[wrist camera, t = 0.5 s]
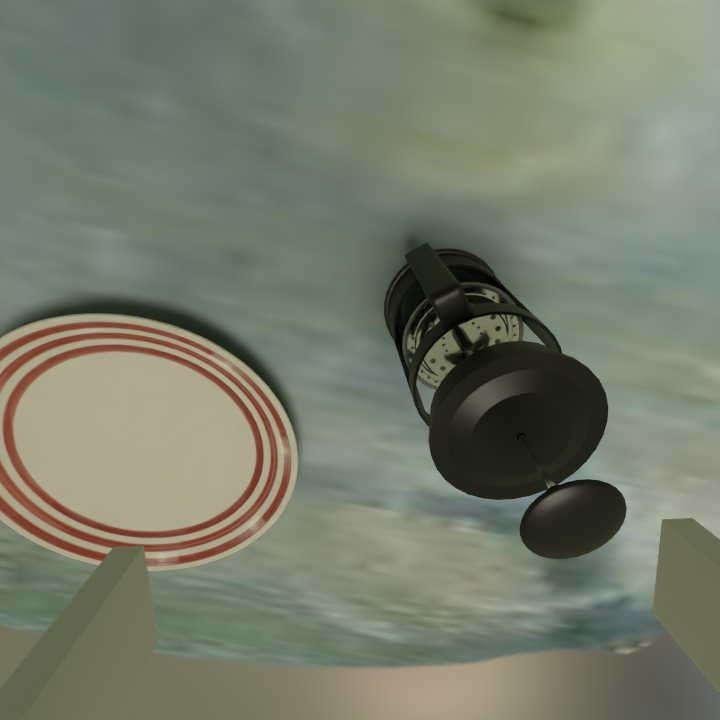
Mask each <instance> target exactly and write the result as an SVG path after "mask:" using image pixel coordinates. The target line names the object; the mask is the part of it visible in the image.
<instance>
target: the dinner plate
mask: <svg viewBox="0 0 720 720" xmlns="http://www.w3.org/2000/svg"><path fill="white" fill-rule="evenodd" d="M297 474H298V448H297V442H296V438H295V434H294V431H293V428H292V425H291V422H290V420H289V418H288V416H287V414H286V412H285V409H284V408H283V406H282V404H281V403H280V401H279V400H278V398H277V397H276V396H275V394H274V393H273V392H272V390H271V389H270V388H269V386H268V385H267V384H266V383H265V382H264V381H263V380H262V379H261V378H260V377H259V376H258V374H256V373H255V372H254V371H253V370H252V369H251V368H250V367H249V366H248V365H246V364H245V363H244V362H243V361H241V360H240V359H239V358H237V357H236V356H235V355H233V354H232V353H230V352H229V351H227V350H225V349H224V348H222V347H221V346H219V345H217V344H216V343H214V342H212V341H210V340H208V339H206V338H204V337H202V336H200V335H198V334H195V333H193V332H191V331H188V330H185V329H182V328H180V327H177V326H174V325H171V324H167V323H164V322H160V321H156V320H152V319H147V318H142V317H137V316H130V315H122V314H110V313H86V314H72V315H65V316H58V317H52V318H48V319H43V320H40V321H36V322H33V323H30V324H27V325H25V326H22V327H20V328H17V329H15V330H13V331H11V332H9V333H7V334H5V335H3V336H2V337H0V520H2V521H3V522H4V523H5V524H7V525H8V526H9V527H11V528H12V529H14V530H15V531H17V532H18V533H20V534H21V535H23V536H25V537H26V538H28V539H30V540H31V541H33V542H35V543H37V544H39V545H41V546H43V547H45V548H47V549H49V550H52V551H54V552H57V553H59V554H62V555H65V556H67V557H70V558H73V559H77V560H80V561H84V562H87V563H91V564H95V565H100V563H101V562H102V561H103V560H104V558H105V557H106V556H107V555H108V553H109V552H110V551H111V550H112V548H114V547H133V546H144V551H145V557H146V563H147V570H148V571H162V570H175V569H182V568H188V567H193V566H198V565H202V564H205V563H209V562H212V561H215V560H218V559H221V558H223V557H226V556H228V555H230V554H233V553H235V552H237V551H239V550H241V549H242V548H244V547H246V546H247V545H249V544H251V543H252V542H253V541H255V540H256V539H258V538H259V537H260V536H262V535H263V534H264V533H265V532H266V531H267V530H268V529H269V528H270V527H271V526H272V525H273V524H274V523H275V522H276V521H277V520H278V518H279V517H280V516H281V514H282V513H283V511H284V510H285V508H286V506H287V504H288V503H289V501H290V499H291V496H292V494H293V491H294V488H295V484H296V480H297Z"/></svg>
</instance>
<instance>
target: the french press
mask: <svg viewBox="0 0 720 720" xmlns="http://www.w3.org/2000/svg"><path fill="white" fill-rule="evenodd" d="M405 258H406V260H407V262H408V264H407V265H406V266H405V267H404V268H402V269H401V270H400V271H399V272H398V274H397V275H396V277H395V278H394V280H393V281H392V283H391V285H390V287H389V289H388V291H387V295H386V299H385V305H384V315H385V321H386V325H387V328H388V330H389V332H390V335H391V336H392V338H393V339H394V341H395V344H396V347H397V350H398V354H399V357H400V360H401V363H402V366H403V369H404V372H405V375H406V378H407V382H408V385H409V388H410V391H411V394H412V397H413V400H414V403H415V406H416V408H417V410H418V413H419V415H420V416H421V418H422V419H423V420H424V422H425V423H426V424H427V425H428V426H429V427H430V428H429V440H428V441H429V447H430V453H431V456H432V459H433V461H434V463H435V466H436V468H437V470H438V471H439V472H440V474H441V475H442V476H443V477H444V479H445V480H446V481H447V482H449V483H450V484H451V485H453V486H454V487H455V488H457V489H459V490H461V491H463V492H465V493H467V494H469V495H473V496H476V497H480V498H485V499H496V500H502V499H516V498H520V497H525V496H530V495H533V494H536V493H539V492H542V491H544V490H547V491H546V492H545V493H543V494H542V495H540V496H539V497H538V498H537V499H536V500H535V501H534V502H533V503H532V504H531V505H530V506H529V507H528V509H527V510H526V511H525V513H524V515H523V518H522V520H521V524H520V536H521V539H522V542H523V543H524V544H525V546H526V547H527V548H528V549H529V550H531V551H532V552H533V553H535V554H537V555H539V556H541V557H545V558H550V559H568V558H573V557H578V556H581V555H584V554H587V553H589V552H591V551H594V550H596V549H598V548H599V547H601V546H602V545H604V544H605V543H607V542H608V541H609V540H610V539H611V538H612V537H613V536H614V535H615V534H616V533H617V532H618V531H619V529H620V527H621V526H622V524H623V522H624V519H625V517H626V509H627V508H626V503H625V499H624V497H623V495H622V493H621V492H620V491H619V490H618V489H617V488H616V487H614V486H612V485H610V484H609V483H605V482H602V481H599V480H590V479H587V480H576V481H571V482H566V483H564V484H561V485H557V484H558V483H560V482H562V481H563V480H565V479H566V478H568V477H569V476H570V475H572V474H573V473H575V472H576V471H577V470H578V469H579V468H580V467H581V466H582V465H583V464H584V463H585V462H586V461H587V460H588V459H589V457H590V456H591V455H592V453H593V452H594V451H595V450H596V448H597V446H598V444H599V442H600V440H601V438H602V436H603V434H604V431H605V427H606V424H607V418H608V403H607V398H606V393H605V391H604V389H603V387H602V385H601V383H600V381H599V379H598V378H597V377H596V376H595V375H594V374H593V373H592V371H591V370H590V369H589V368H588V367H587V366H585V365H584V364H582V363H581V362H579V361H578V360H576V359H575V358H573V357H570V356H567V355H565V354H562V351H561V347H560V345H559V343H558V341H557V340H556V338H555V336H554V335H553V334H552V333H551V332H550V330H549V329H548V328H547V327H546V326H545V325H544V324H543V323H542V322H541V321H540V320H539V319H538V318H537V317H535V316H534V315H533V314H532V313H531V312H530V311H529V310H528V309H527V308H526V307H525V306H524V305H523V304H521V303H520V302H519V301H518V300H517V299H516V298H515V297H514V296H513V295H512V294H511V293H510V292H509V291H508V290H507V289H506V288H505V287H504V286H503V285H502V284H501V283H500V281H499V280H498V279H497V278H496V276H495V274H494V272H493V271H492V270H491V268H490V267H489V266H488V265H487V264H486V263H485V262H484V261H483V260H481V259H480V258H478V257H477V256H475V255H473V254H471V253H468V252H466V251H462V250H456V249H440V250H436V251H434V250H433V249H432V247H431V246H430V245H429V244H428V243H426V244H424V245H422V246H420V247H418V248H416V249H414V250H412V251H411V252H409V253H407V254H406V255H405ZM450 267H453V268H458V269H462V270H464V271H467V272H469V273H470V274H472V275H473V276H475V277H476V278H477V280H478V281H479V282H480V283H477V282H461V283H459V282H458V281H457V279H456V278H455V277H454V275H453V274H452V273H451V272H450V270H449V269H448V268H450ZM417 282H419V284H420V286H421V287H422V289H423V291H424V293H425V295H426V296H427V297H426V298H425V299H424V300H423V301H422V302H421V303H420V304H419V305H418V306H417V308H416V309H415V310H414V312H413V313H412V315H411V317H410V319H409V321H408V323H407V325H406V328H404V325H403V323H402V318H401V306H402V302H403V298H404V296H405V295H406V294H407V292H408V291H409V289H410V288H412V287H413V286H414V285H415V284H416V283H417ZM523 322H524V323H525V324H526V325H527V326H528V327H529V328H530V329H531V330H532V331H533V332H534V333H535V334H536V335H537V336H538V338H539V339H540V340H541V341H542V342H543V343H544V344H545V345H546V346H544V345H542V344H539V343H533V342H527V341H522V339H523ZM416 379H418V380H419V381H420V382H421V383H422V384H424V385H426V386H428V387H430V388H432V389H435V390H436V392H435V394H434V397H433V401H432V404H431V411H430V415H429V414H428V413H427V412H425V409H424V407H423V404H422V401H421V398H420V395H419V392H418V389H417V386H416Z"/></svg>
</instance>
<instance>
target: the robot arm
mask: <svg viewBox="0 0 720 720" xmlns="http://www.w3.org/2000/svg"><path fill="white" fill-rule="evenodd" d="M652 613H653V614H654V615H655V616H656V618H657V619H658V620H659V621H660V622H661V624H662V625H663V626H664V627H665V628H666V630H667V631H668V632H669V633H670V634H671V636H672V637H673V638H674V639H675V640H676V641H677V643H678V644H679V645H680V646H681V648H682V649H683V650H684V651H685V652H686V654H687V655H688V656H689V657H690V658H691V660H692V661H693V662H694V663H695V664H696V666H697V667H698V668H699V669H700V670H701V672H702V673H703V674H704V675H705V676H706V677H707V679H708V680H709V681H710V682H711V684H713V686H714V687H715V688H716V689H717V691H718V692H719V693H720V539H718V538H717V537H716V536H714V535H713V534H712V533H711V532H709V531H708V530H707V529H705V528H704V527H703V526H702V525H700V524H699V523H698V522H697V521H695V520H694V519H693V518H684V519H664V520H662V526H661V536H660V545H659V555H658V564H657V574H656V584H655V593H654V603H653V612H652ZM158 639H159V637H158V631H157V625H156V619H155V613H154V607H153V600H152V594H151V588H150V582H149V576H148V570H147V563H146V557H145V551H144V546H133V547H114V548H112V550H111V551H110V552H109V553H108V555H107V556H106V557H105V558H104V560H103V561H102V562H101V563H100V565H99V566H98V567H97V568H96V570H95V571H94V572H93V573H92V574H91V576H90V577H89V578H88V579H87V581H86V582H85V583H84V584H83V586H82V587H81V588H80V589H79V591H78V592H77V593H76V594H75V596H74V597H73V598H72V599H71V601H70V602H69V603H68V604H67V606H66V607H65V608H64V609H63V611H62V612H61V613H60V614H59V616H58V617H57V618H56V619H55V621H54V622H53V623H52V624H51V626H50V627H49V628H48V629H47V631H46V632H45V633H44V634H43V636H42V637H41V638H40V639H39V641H38V642H37V643H36V645H35V646H34V647H33V648H32V649H31V651H30V652H29V653H28V654H27V656H26V657H25V658H24V659H23V661H22V662H21V663H20V664H19V665H18V667H17V668H16V669H15V671H14V672H13V673H12V674H11V676H10V677H9V678H8V679H7V680H6V682H5V683H4V684H3V685H2V687H1V688H0V720H119V718H120V716H121V714H122V712H123V710H124V708H125V706H126V704H127V701H128V700H129V698H130V695H131V694H132V691H133V690H134V688H135V686H136V684H137V682H138V680H139V677H140V675H141V673H142V671H143V669H144V667H145V665H146V663H147V661H148V659H149V657H150V655H151V653H152V651H153V649H154V647H155V645H156V643H157V641H158Z"/></svg>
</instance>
